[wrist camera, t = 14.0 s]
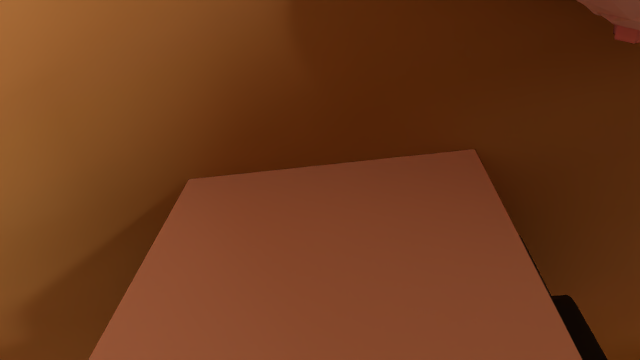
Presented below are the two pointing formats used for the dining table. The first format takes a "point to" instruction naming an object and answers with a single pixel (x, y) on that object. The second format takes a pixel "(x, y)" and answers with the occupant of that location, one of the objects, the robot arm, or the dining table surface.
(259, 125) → the dining table surface
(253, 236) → the brick terracotta
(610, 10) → the ice cream bar
